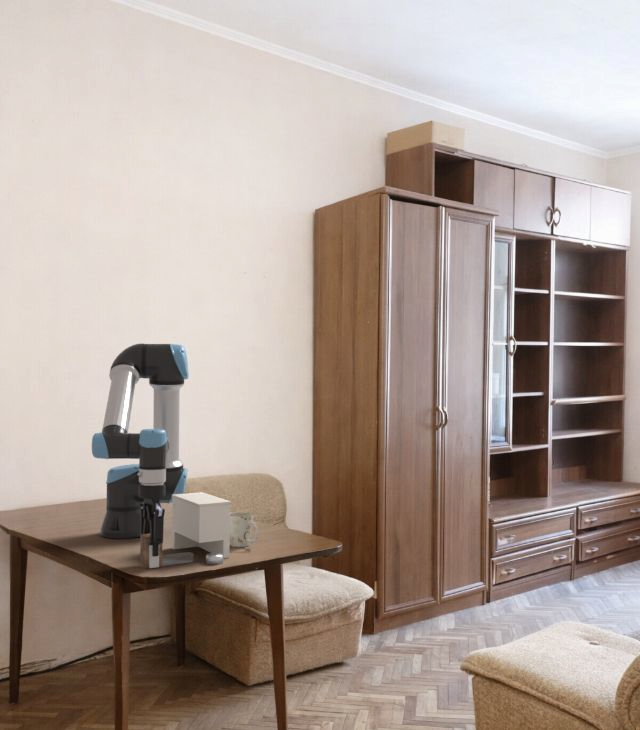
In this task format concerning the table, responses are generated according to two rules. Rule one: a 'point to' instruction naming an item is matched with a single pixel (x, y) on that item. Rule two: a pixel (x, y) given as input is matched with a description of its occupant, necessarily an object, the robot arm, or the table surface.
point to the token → (214, 558)
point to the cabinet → (201, 522)
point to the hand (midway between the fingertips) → (150, 565)
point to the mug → (242, 529)
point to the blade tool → (163, 559)
